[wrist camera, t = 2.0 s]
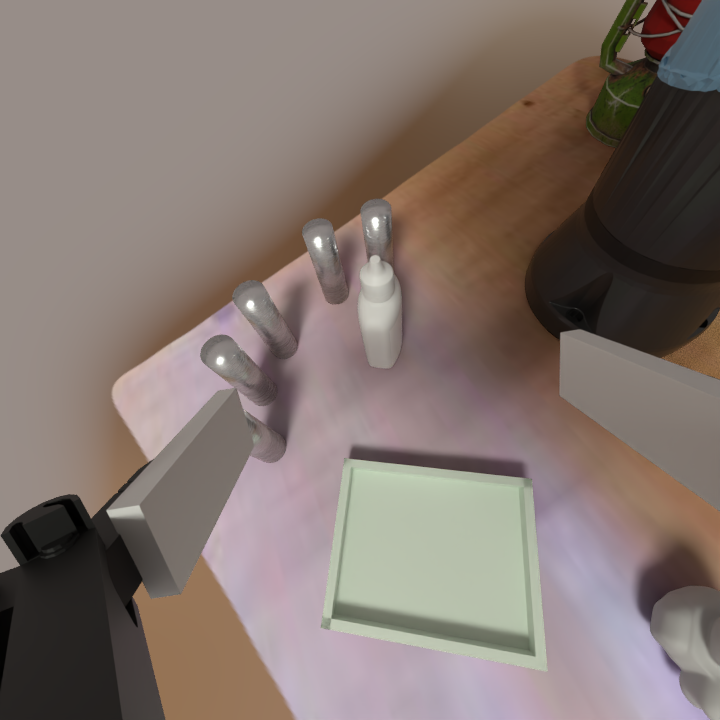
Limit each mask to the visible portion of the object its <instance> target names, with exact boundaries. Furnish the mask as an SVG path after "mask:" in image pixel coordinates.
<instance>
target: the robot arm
mask: <svg viewBox="0 0 720 720" xmlns="http://www.w3.org/2000/svg"><path fill="white" fill-rule="evenodd" d="M525 290H526V295H527V299H528V302H529V304H530V307H531V309H532V311H533V312H534V314H535V315H536V317H537V318H538V320H539V321H540V322H541V323H542V324H543V326H544V327H545V328H546V329H547V330H548V331H549V332H551V333H552V334H553V335H554V336H555V337H557V338H558V339H560V394H559V396H561V397H562V398H563V399H565V400H566V401H568V402H569V403H570V404H572V405H573V406H575V407H576V408H577V409H579V410H580V411H581V412H583V413H584V414H586V415H587V416H588V417H590V418H591V419H593V420H594V421H595V422H597V423H598V424H599V425H601V426H602V427H604V428H605V429H606V430H608V431H609V432H611V433H612V434H613V435H615V436H616V437H617V438H619V439H620V440H622V441H623V442H624V443H626V444H627V445H629V446H630V447H631V448H633V449H634V450H636V451H637V452H638V453H640V454H641V455H642V456H644V457H645V458H647V459H648V460H649V461H651V462H652V463H654V464H655V465H656V466H658V467H659V468H660V469H662V470H663V471H665V472H666V473H667V474H669V475H670V476H672V477H673V478H674V479H676V480H677V481H678V482H680V483H681V484H683V485H684V486H685V487H687V488H688V489H690V490H691V491H692V492H694V493H695V494H696V495H698V496H699V497H701V498H702V499H703V500H705V501H706V502H708V503H709V504H710V505H712V506H713V507H714V508H716V509H717V510H719V511H720V380H719V379H717V378H714V377H711V376H708V375H705V374H702V373H699V372H696V371H694V370H691V369H688V368H685V367H683V366H680V365H677V364H674V363H672V362H669V361H666V360H663V359H661V357H664V356H667V355H669V354H671V353H673V352H675V351H677V350H678V349H680V348H681V347H683V346H685V345H686V344H688V343H689V342H691V341H692V340H694V339H695V338H697V337H698V336H699V335H701V334H702V333H703V332H704V331H705V330H706V329H707V328H708V327H709V326H710V325H711V323H712V322H713V320H714V319H715V317H716V316H717V314H718V312H719V309H720V0H702V1H701V3H700V4H699V6H698V8H697V9H696V11H695V12H694V14H693V16H692V17H691V19H690V20H689V22H688V24H687V25H686V27H685V28H684V30H683V32H682V33H681V35H680V36H679V38H678V40H677V41H676V43H675V44H674V45H673V46H672V47H671V48H670V49H669V50H668V51H667V52H666V54H665V55H664V56H663V58H662V60H661V62H660V64H659V69H658V72H657V76H656V78H655V80H654V81H653V83H652V85H651V87H650V88H649V90H648V92H647V94H646V96H645V97H644V99H643V101H642V103H641V104H640V106H639V108H638V110H637V112H636V113H635V115H634V117H633V119H632V121H631V122H630V124H629V126H628V128H627V129H626V131H625V133H624V135H623V137H622V138H621V140H620V142H619V144H618V146H617V147H616V149H615V151H614V153H613V154H612V156H611V158H610V160H609V162H608V163H607V165H606V167H605V169H604V171H603V172H602V174H601V176H600V178H599V179H598V181H597V183H596V185H595V187H594V188H593V190H592V192H591V194H590V195H589V197H588V199H587V200H586V202H585V203H584V204H583V205H581V206H580V207H579V208H578V209H577V210H576V211H575V212H574V213H573V214H572V215H571V216H570V217H569V218H567V219H566V220H565V221H564V222H563V223H562V224H561V225H560V226H559V227H558V228H557V229H556V230H555V231H553V232H552V233H551V234H550V235H549V236H547V237H546V239H545V240H544V241H543V242H542V243H541V245H540V246H539V247H538V249H537V251H536V253H535V255H534V257H533V259H532V261H531V263H530V265H529V267H528V270H527V273H526V278H525ZM253 447H254V443H253V440H252V436H251V433H250V430H249V427H248V424H247V421H246V417H245V414H244V411H243V408H242V405H241V402H240V398H239V395H238V392H237V389H236V388H232V389H226V390H220V391H217V392H216V393H215V395H214V396H213V397H212V398H211V399H210V400H209V401H208V402H207V403H206V404H205V405H204V406H203V407H202V408H201V410H200V411H199V412H198V413H197V414H196V415H195V416H194V417H193V418H192V419H191V420H190V421H189V422H188V423H187V424H186V426H185V427H184V428H183V429H182V430H181V431H180V432H179V433H178V434H177V435H176V436H175V437H174V438H173V439H172V441H171V442H170V443H169V444H168V445H167V446H166V447H165V448H164V449H163V450H162V451H161V452H160V453H159V454H158V455H157V457H156V458H155V459H153V460H152V461H150V462H149V463H147V464H146V465H144V466H143V467H142V468H140V469H139V470H138V471H137V472H136V473H135V474H134V475H133V476H132V477H131V478H130V479H129V480H128V481H127V483H126V484H124V485H123V486H122V487H121V488H120V489H119V490H118V493H116V494H115V495H114V496H113V497H112V498H111V499H110V500H109V501H108V502H107V503H106V504H105V505H104V506H103V507H102V508H101V509H100V510H99V511H98V512H97V513H96V514H95V515H94V516H93V518H92V519H91V518H90V516H89V514H88V513H87V511H86V509H85V507H84V505H83V503H82V502H81V500H80V498H79V497H78V496H77V495H70V494H69V495H64V496H60V497H56V498H54V499H51V500H48V501H46V502H43V503H41V504H40V505H38V506H36V507H34V508H32V509H30V510H28V511H27V512H25V513H24V514H22V515H21V516H19V517H18V518H16V519H15V520H14V521H13V522H12V523H10V524H9V525H8V526H7V527H6V528H5V530H4V531H3V533H2V534H1V537H2V538H3V540H4V541H5V543H6V545H7V546H8V548H9V549H10V551H11V552H12V554H13V555H14V557H15V558H16V560H17V561H18V563H19V564H20V566H19V567H16V568H13V569H10V570H8V571H5V572H2V573H0V720H165V716H164V712H163V708H162V704H161V700H160V696H159V691H158V687H157V683H156V679H155V675H154V671H153V668H152V663H151V659H150V655H149V651H148V646H147V643H146V638H145V634H144V630H143V626H142V622H141V618H140V614H139V610H138V606H137V604H136V602H135V601H134V599H133V597H132V596H133V595H134V593H135V591H136V590H137V588H138V587H139V585H140V584H141V582H143V584H144V586H145V588H146V590H147V592H148V593H149V595H150V598H151V599H152V598H158V597H165V596H172V595H178V594H181V593H182V591H183V589H184V587H185V585H186V582H187V581H188V579H189V577H190V575H191V572H192V571H193V568H194V566H195V565H196V562H197V560H198V558H199V556H200V554H201V552H202V550H203V548H204V546H205V544H206V542H207V540H208V538H209V536H210V534H211V532H212V530H213V528H214V526H215V524H216V522H217V520H218V518H219V516H220V514H221V512H222V510H223V508H224V506H225V504H226V502H227V500H228V498H229V496H230V494H231V492H232V490H233V488H234V486H235V484H236V482H237V480H238V478H239V476H240V474H241V472H242V470H243V468H244V466H245V464H246V462H247V460H248V457H249V455H250V453H251V451H252V449H253Z"/></svg>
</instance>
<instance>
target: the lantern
mask: <svg viewBox="0 0 720 720" xmlns="http://www.w3.org/2000/svg"><path fill="white" fill-rule="evenodd" d="M701 1H702V0H657V1H656V2H655V4H654V5H653V7H652V9H651V10H650V12H649V13H648V15H647V17H645V18H644V19H642V20H640V21H638V20H639V18H640V16H641V14H642V13H643V11H644V9H645V8H646V6H647V4H648V3H646V2H644V0H626V2H625V3H624V5H623V7H622V9H621V11H620V13H619V15H618V16H617V18H616V20H615V22H614V24H613V25H612V27H611V29H610V31H609V33H608V35H607V36H606V38H605V40H604V42H603V44H602V48H601V56H600V65H599V67H601V68H603V69H604V70H606V71H607V72H609V73H611V74H610V75H609V76H608V77H607V79H606V81H605V83H604V86H603V88H602V90H601V92H600V94H599V97H598V99H597V101H596V103H595V105H594V107H593V108H592V109H591V110H590V112H589V113H588V115H587V117H586V127H587V129H588V130H589V132H590V133H591V135H592V136H593V137H594V138H596V139H597V140H599V141H601V142H602V143H604V144H605V145H608V146H612V147H615V148H616V147H617V146H618V144H619V142H620V140H621V138H622V137H623V135H624V133H625V131H626V129H627V128H628V126H629V124H630V122H631V121H632V119H633V117H634V115H635V113H636V112H637V110H638V108H639V106H640V104H641V103H642V101H643V99H644V97H645V96H646V94H647V92H648V90H649V88H650V87H651V85H652V83H653V81H654V80H655V78H656V76H657V72H658V69H659V64H660V62H661V60H662V58H663V56H664V55H665V54H666V52H667V51H668V50H669V49H670V48H671V47H672V46H673V45H674V44H675V43H676V41H677V40H678V38H679V36H680V35H681V33H682V32H683V30H684V28H685V27H686V25H687V24H688V22H689V20H690V19H691V17H692V16H693V14H694V12H695V11H696V9H697V8H698V6H699V4H700V3H701ZM633 19H636V20H635V22H634V24H631V23H632V21H633ZM637 21H638V22H637ZM642 22H644V24H643V28H642V32H641V34H640V33H637V32H635V31H634V30H633V28H634V26H636V25H638V24H640V23H642ZM629 27H631V28H629ZM627 30H628V31H629V32H628V34H625V33H626V31H627ZM630 33H632V34H633V35H636V36H639V37H641V42H642V44H643V45H644V47H645V48H646V49H645V56H646V58H643V59H640V60H637V61H634V62H631V63H625V62H622V61H620V60H618V59H616V57H617V52H620V50H621V49H622V47H623V45H624V43H625V42H626V40H627V38H628V37H629V35H630Z"/></svg>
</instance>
